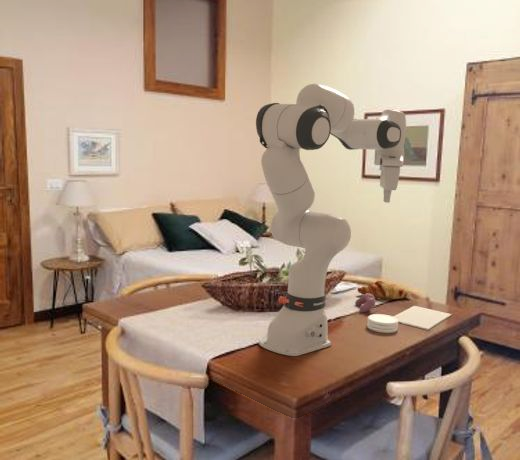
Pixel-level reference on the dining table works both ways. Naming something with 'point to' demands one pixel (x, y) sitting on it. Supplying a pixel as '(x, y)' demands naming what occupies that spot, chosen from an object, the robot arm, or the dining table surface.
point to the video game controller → (366, 302)
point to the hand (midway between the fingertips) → (386, 202)
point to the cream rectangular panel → (421, 317)
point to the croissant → (384, 291)
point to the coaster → (382, 323)
